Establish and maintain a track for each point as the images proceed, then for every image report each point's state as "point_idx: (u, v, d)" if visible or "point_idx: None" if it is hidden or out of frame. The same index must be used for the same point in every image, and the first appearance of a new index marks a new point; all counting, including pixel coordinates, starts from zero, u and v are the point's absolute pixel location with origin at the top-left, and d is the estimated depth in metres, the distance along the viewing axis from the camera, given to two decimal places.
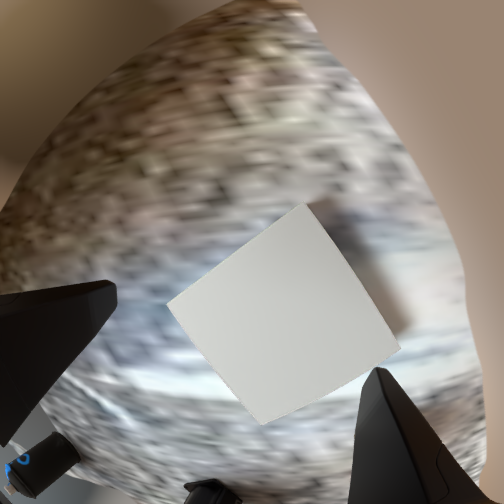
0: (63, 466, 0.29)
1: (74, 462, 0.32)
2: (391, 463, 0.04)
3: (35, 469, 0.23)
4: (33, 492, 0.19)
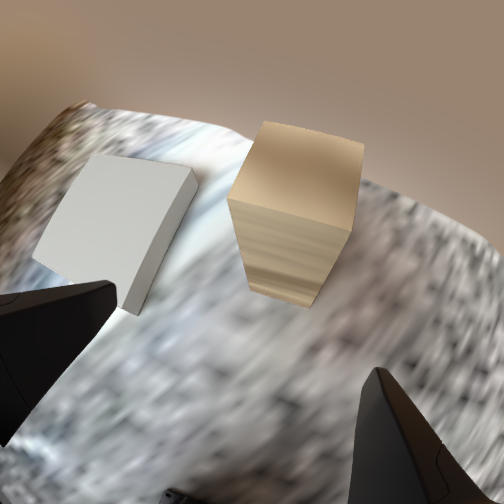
0: None
1: None
2: (391, 463, 0.04)
3: None
4: None
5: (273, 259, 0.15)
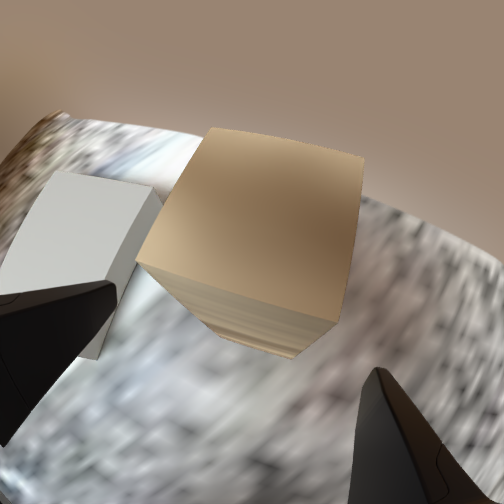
0: None
1: None
2: (391, 463, 0.04)
3: None
4: None
5: (231, 324, 0.11)
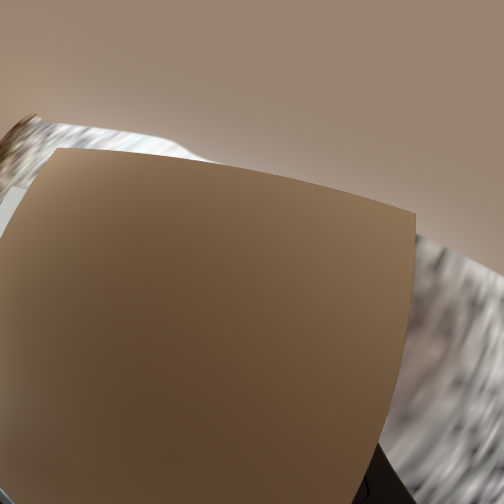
0: None
1: None
2: None
3: None
4: None
5: None
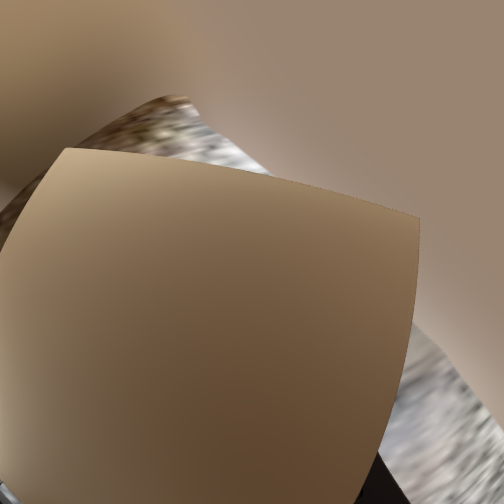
0: None
1: None
2: None
3: None
4: None
5: None
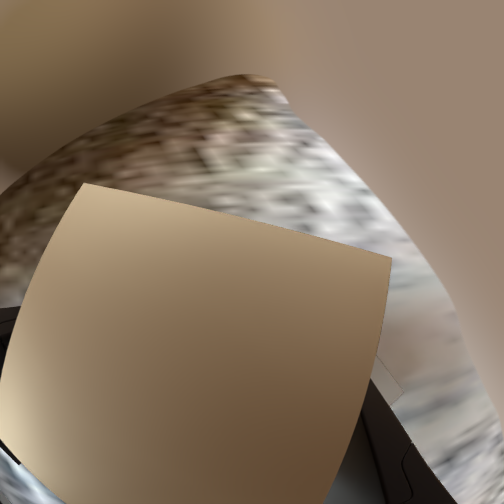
0: None
1: None
2: (355, 460, 0.04)
3: None
4: None
5: None
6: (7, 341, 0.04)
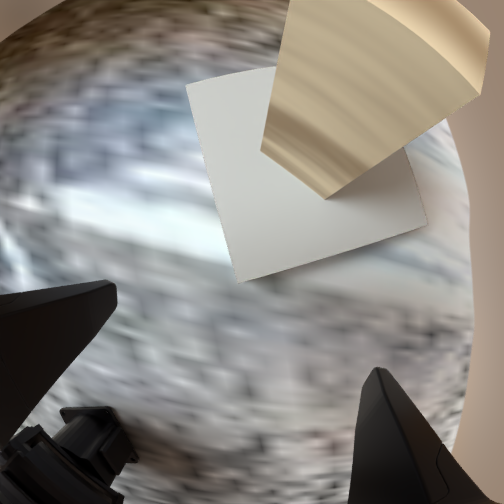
0: None
1: None
2: (391, 463, 0.04)
3: None
4: None
5: (318, 103, 0.09)
6: None
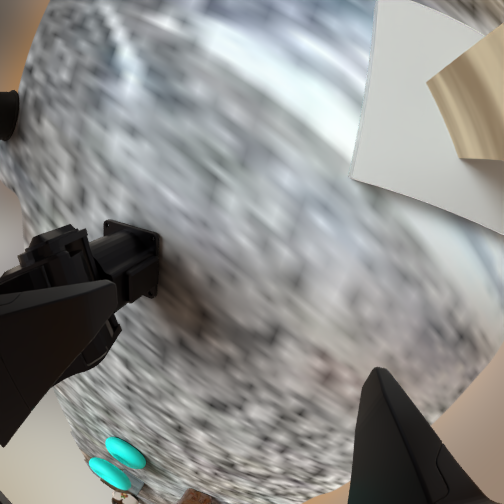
0: None
1: (2, 135, 0.24)
2: (391, 463, 0.04)
3: None
4: None
5: None
6: None
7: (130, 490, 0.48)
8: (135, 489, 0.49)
